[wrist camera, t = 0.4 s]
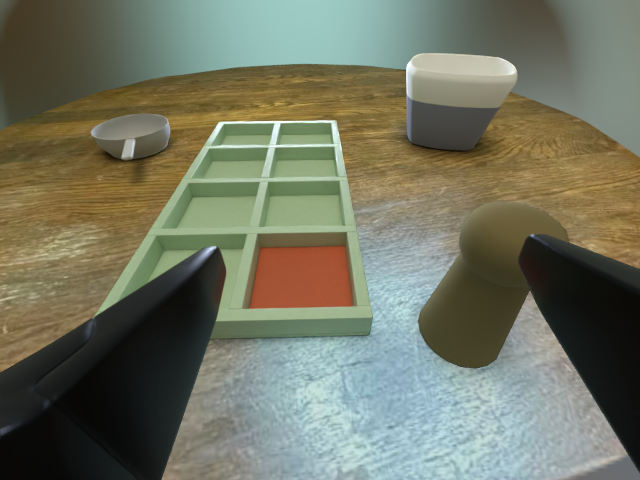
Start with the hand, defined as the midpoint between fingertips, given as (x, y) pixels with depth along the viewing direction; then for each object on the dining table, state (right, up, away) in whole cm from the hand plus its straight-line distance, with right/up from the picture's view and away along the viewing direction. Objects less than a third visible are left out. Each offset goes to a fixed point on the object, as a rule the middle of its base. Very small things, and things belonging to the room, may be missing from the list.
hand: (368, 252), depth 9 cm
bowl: (+19, +18, +42) cm, 50 cm away
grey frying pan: (-29, +13, +37) cm, 49 cm away
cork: (+9, -7, +14) cm, 18 cm away
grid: (-8, +6, +28) cm, 30 cm away
